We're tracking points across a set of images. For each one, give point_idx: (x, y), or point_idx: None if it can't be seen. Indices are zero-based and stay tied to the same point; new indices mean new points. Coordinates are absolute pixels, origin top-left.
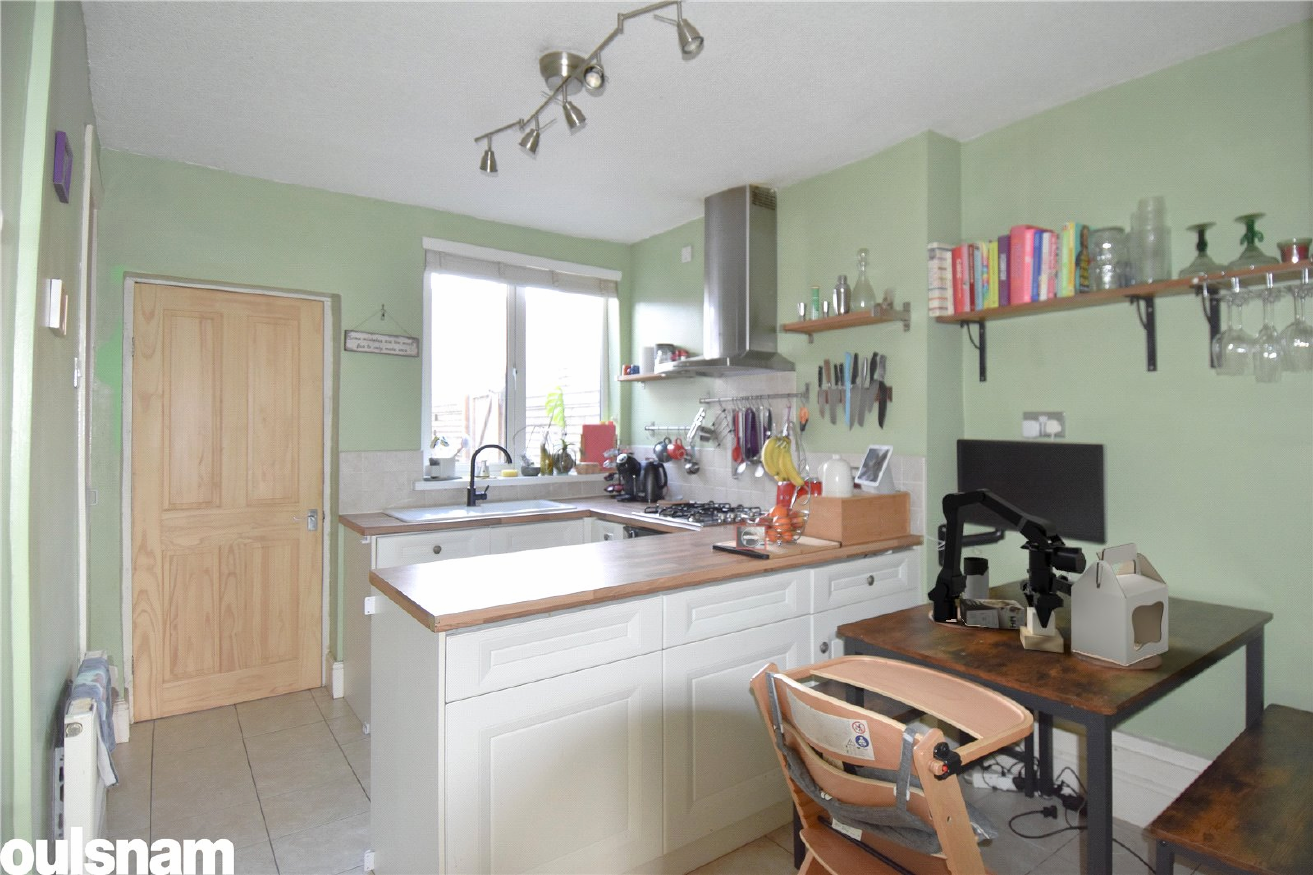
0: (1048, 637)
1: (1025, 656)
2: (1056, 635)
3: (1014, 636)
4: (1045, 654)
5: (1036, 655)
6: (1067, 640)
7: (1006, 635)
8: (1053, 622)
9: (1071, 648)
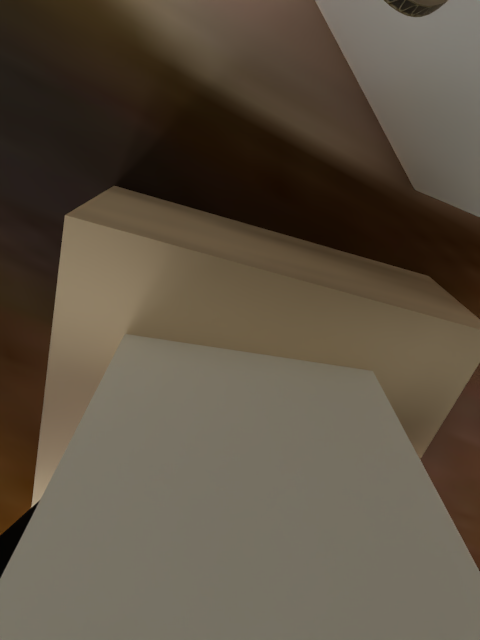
0: (415, 450)
1: (464, 539)
2: (355, 347)
3: (25, 463)
4: (449, 422)
5: (459, 480)
6: (29, 26)
7: (14, 501)
8: (437, 522)
9: (430, 194)
